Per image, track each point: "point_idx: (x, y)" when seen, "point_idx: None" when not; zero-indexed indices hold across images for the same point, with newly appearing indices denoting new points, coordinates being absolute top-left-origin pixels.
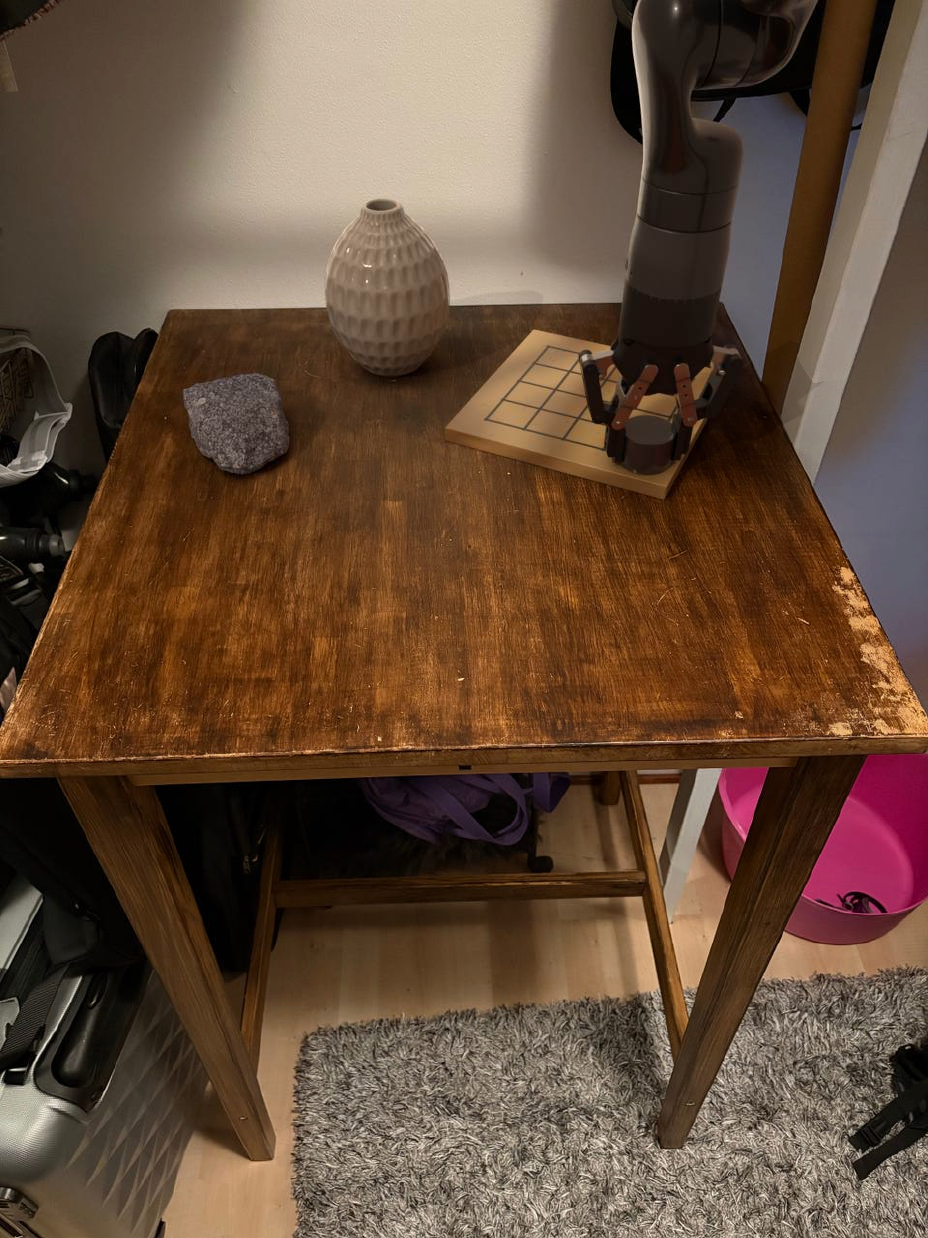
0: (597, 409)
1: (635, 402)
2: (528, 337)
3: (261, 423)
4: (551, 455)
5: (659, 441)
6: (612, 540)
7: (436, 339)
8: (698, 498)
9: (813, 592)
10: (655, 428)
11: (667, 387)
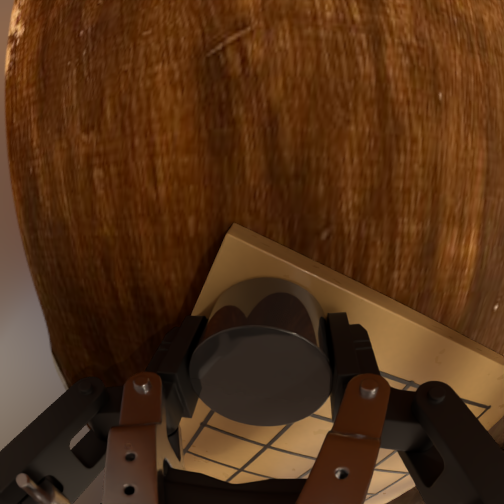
0: (452, 418)
1: (336, 455)
2: None
3: None
4: (447, 340)
5: (236, 338)
6: (367, 86)
7: None
8: (163, 228)
9: (44, 11)
10: (241, 387)
11: (198, 499)
